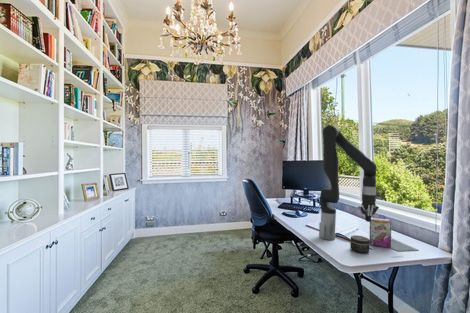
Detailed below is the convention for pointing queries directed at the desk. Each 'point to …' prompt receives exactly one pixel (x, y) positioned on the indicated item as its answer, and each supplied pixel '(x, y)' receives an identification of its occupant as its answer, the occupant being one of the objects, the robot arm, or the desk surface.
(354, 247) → the jar
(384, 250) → the desk surface
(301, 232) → the desk surface
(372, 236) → the candy bar box
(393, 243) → the mat
